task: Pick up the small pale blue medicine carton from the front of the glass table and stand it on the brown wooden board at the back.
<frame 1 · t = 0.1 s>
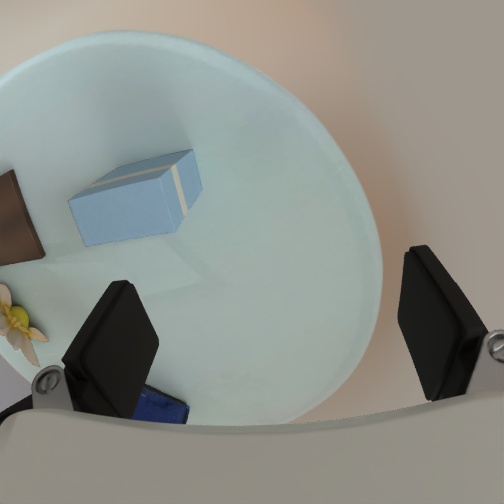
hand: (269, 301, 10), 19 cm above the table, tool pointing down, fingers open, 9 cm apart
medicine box: (158, 177, 28), on the table
decorative flower: (19, 310, 40), on the table
book: (149, 390, 46), on the table
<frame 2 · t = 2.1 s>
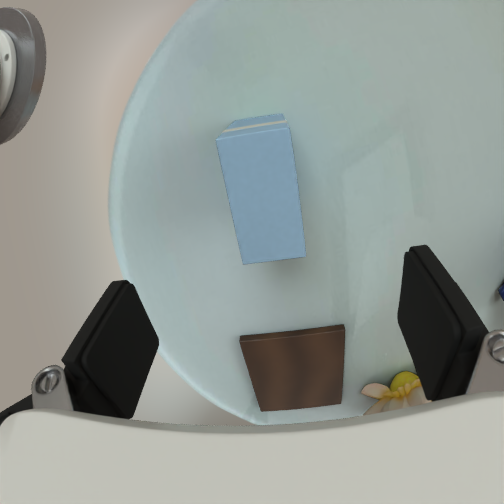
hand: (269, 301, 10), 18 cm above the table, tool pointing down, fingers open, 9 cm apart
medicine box: (266, 163, 25), on the table
brown wooden board: (297, 372, 39), on the table
decorative flower: (398, 379, 40), on the table
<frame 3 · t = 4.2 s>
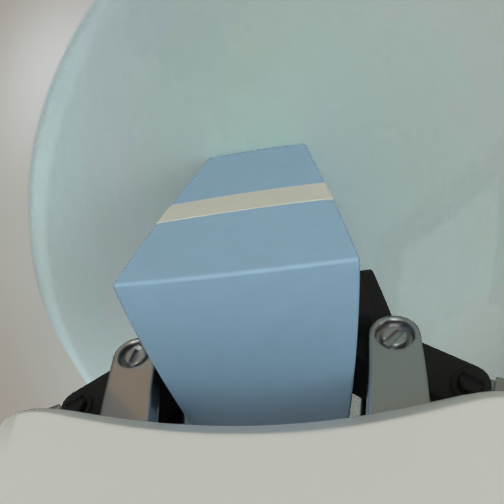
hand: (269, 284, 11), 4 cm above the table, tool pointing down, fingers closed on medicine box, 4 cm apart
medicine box: (271, 236, 14), on the table, touching gripper
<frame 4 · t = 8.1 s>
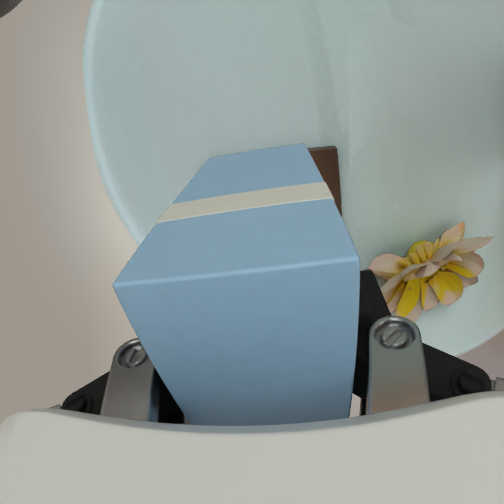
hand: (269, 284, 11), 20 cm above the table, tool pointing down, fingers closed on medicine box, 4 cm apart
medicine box: (271, 235, 14), point 16 cm above the table, touching gripper
brown wooden board: (282, 229, 32), on the table
decorative flower: (414, 261, 33), on the table
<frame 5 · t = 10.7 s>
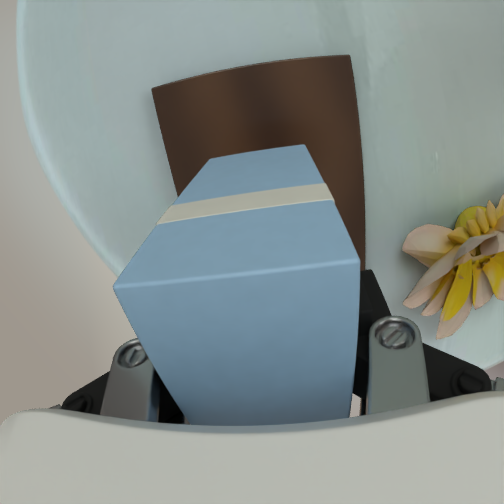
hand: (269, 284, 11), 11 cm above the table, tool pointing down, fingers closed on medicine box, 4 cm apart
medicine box: (271, 236, 14), point 7 cm above the table, touching gripper
brown wooden board: (270, 186, 20), on the table
decorative flower: (461, 239, 21), on the table
when the fingers open (5 cm above the table, at t = 12.4 s): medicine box stays where it is, resting on brown wooden board.
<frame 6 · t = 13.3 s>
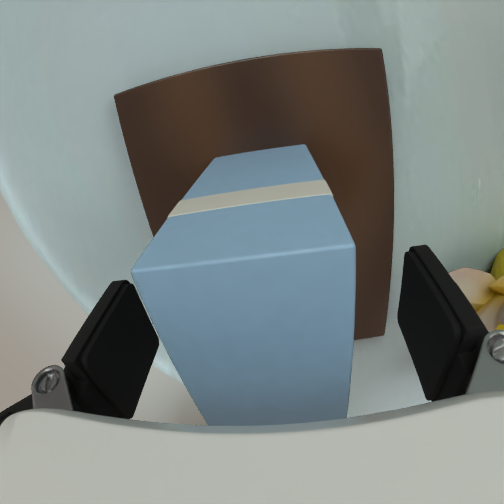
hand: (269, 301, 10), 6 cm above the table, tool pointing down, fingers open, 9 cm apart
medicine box: (273, 232, 15), point 1 cm above the table, touching brown wooden board
brown wooden board: (272, 222, 16), on the table
decorative flower: (495, 278, 17), on the table
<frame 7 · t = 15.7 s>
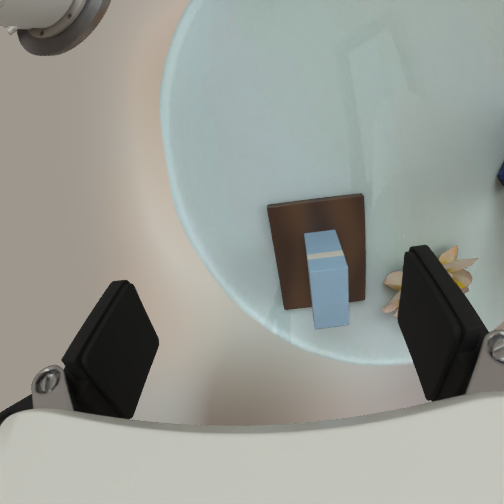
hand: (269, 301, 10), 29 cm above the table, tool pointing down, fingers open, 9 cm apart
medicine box: (322, 258, 41), point 1 cm above the table, touching brown wooden board
brown wooden board: (320, 254, 42), on the table
decorative flower: (419, 276, 42), on the table
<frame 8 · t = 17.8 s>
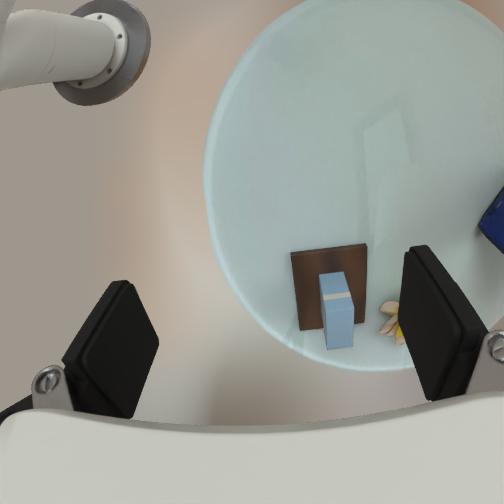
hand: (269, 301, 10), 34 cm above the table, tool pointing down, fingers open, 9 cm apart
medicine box: (331, 292, 51), point 1 cm above the table, touching brown wooden board
brown wooden board: (330, 288, 52), on the table
decorative flower: (408, 303, 52), on the table
book: (500, 200, 41), on the table
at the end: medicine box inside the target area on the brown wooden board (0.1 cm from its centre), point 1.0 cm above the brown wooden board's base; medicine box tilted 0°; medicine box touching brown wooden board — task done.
